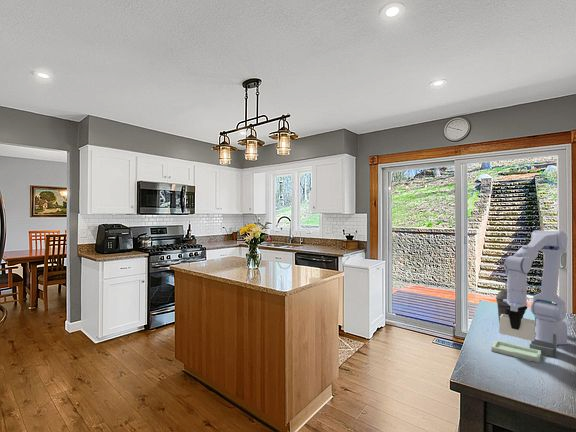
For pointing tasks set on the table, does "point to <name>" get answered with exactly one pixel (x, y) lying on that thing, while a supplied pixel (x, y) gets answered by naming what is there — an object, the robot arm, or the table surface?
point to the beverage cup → (500, 303)
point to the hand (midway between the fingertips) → (516, 326)
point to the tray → (517, 351)
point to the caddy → (524, 331)
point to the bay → (546, 345)
